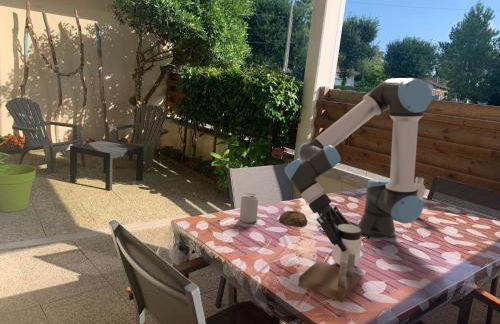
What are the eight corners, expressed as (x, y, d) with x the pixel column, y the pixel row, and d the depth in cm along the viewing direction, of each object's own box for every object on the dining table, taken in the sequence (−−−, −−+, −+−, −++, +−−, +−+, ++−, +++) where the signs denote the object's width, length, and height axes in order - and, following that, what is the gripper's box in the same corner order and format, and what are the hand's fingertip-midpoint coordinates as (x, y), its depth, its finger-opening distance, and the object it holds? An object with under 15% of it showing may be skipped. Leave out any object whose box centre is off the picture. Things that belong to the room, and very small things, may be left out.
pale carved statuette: (406, 218, 183) (412, 178, 179) (406, 214, 189) (412, 175, 185) (421, 220, 181) (427, 180, 177) (420, 216, 187) (427, 177, 183)
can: (254, 224, 162) (256, 198, 160) (238, 222, 164) (239, 196, 161) (258, 218, 170) (259, 193, 167) (241, 216, 171) (243, 191, 169)
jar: (340, 253, 136) (344, 221, 134) (362, 260, 131) (366, 228, 129) (328, 261, 130) (331, 228, 127) (350, 269, 124) (354, 235, 122)
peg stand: (298, 285, 115) (301, 255, 113) (317, 268, 126) (320, 240, 124) (342, 302, 107) (346, 270, 105) (358, 282, 119) (362, 253, 117)
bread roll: (306, 218, 175) (307, 208, 174) (307, 228, 163) (308, 217, 162) (278, 215, 176) (279, 205, 175) (278, 225, 164) (278, 214, 163)
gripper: (320, 197, 144) (357, 249, 138) (295, 211, 127) (336, 270, 121) (335, 187, 140) (373, 239, 134) (311, 199, 123) (354, 260, 117)
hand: (356, 254), depth 128 cm, fingers closed on jar, 8 cm apart
